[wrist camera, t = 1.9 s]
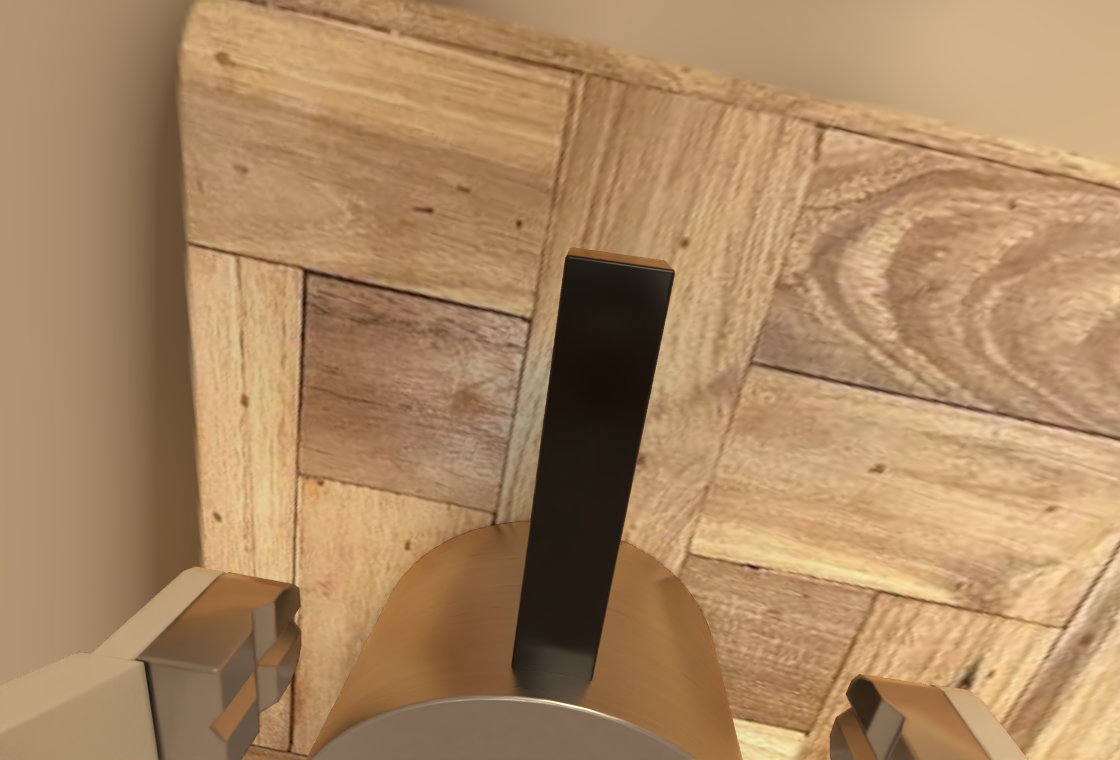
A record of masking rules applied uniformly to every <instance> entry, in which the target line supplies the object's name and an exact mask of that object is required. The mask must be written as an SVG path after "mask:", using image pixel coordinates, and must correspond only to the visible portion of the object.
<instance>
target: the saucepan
mask: <svg viewBox="0 0 1120 760" xmlns="http://www.w3.org/2000/svg"><path fill="white" fill-rule="evenodd" d="M674 276H675V271H674V270H673V269H672V268H671V267H670V265H669V264H668V263H667V262H666V261H664V260H657V259H650V258H643V257H636V256H629V255H622V254H615V253H608V252H601V251H594V250H587V249H580V248H570V250H569V251H568V253H567V255H566V257H565V263H564V271H563V279H562V286H561V294H560V301H559V309H558V316H557V324H556V331H555V339H554V346H553V354H552V361H551V369H550V376H549V384H548V391H547V399H546V406H545V414H544V421H543V429H542V436H541V444H540V452H539V459H538V467H537V474H536V482H535V489H534V497H533V504H532V512H531V519H530V522H514V523H506V524H499V525H493V526H489V527H485V528H481V529H477V530H473V531H471V532H468V533H466V534H463V535H460V536H458V537H455V538H453V539H451V540H449V541H447V542H446V543H444V544H442V545H440V546H438V547H437V548H435V549H433V550H432V551H430V552H429V553H428V554H426V555H425V556H424V557H422V558H421V559H420V560H419V561H417V562H416V563H415V564H414V565H413V566H412V567H411V568H410V569H409V570H408V571H407V572H406V573H405V574H404V576H403V577H402V578H401V580H400V581H399V583H398V584H397V586H396V587H395V588H394V590H393V592H392V593H391V595H390V597H389V599H388V601H387V603H386V605H385V607H384V609H383V611H382V613H381V615H380V617H379V619H378V621H377V623H376V625H375V627H374V628H373V630H372V632H371V634H370V636H369V638H368V640H367V642H366V644H365V646H364V648H363V650H362V652H361V654H360V656H359V658H358V660H357V662H356V663H355V665H354V667H353V669H352V671H351V673H350V675H349V677H348V679H347V681H346V683H345V685H344V687H343V689H342V691H341V693H340V695H339V697H338V698H337V700H336V702H335V704H334V706H333V708H332V710H331V712H330V714H329V716H328V718H327V720H326V722H325V724H324V726H323V728H322V730H321V732H320V733H319V735H318V737H317V739H316V741H315V743H314V745H313V747H312V749H311V751H310V753H309V755H308V757H307V759H306V760H743V759H742V755H741V751H740V747H739V743H738V739H737V735H736V731H735V727H734V723H733V719H732V715H731V711H730V707H729V703H728V699H727V695H726V691H725V688H724V684H723V680H722V676H721V672H720V668H719V664H718V660H717V656H716V652H715V648H714V644H713V640H712V637H711V633H710V630H709V627H708V624H707V621H706V619H705V617H704V615H703V613H702V611H701V609H700V607H699V605H698V604H697V603H696V601H695V600H694V598H693V597H692V595H691V594H690V593H689V591H688V590H687V588H686V587H685V586H684V585H683V584H682V583H681V582H680V581H679V580H678V579H677V578H676V577H675V576H674V575H673V574H672V573H671V572H670V571H669V570H668V569H666V568H665V567H664V566H663V565H661V564H660V563H659V562H658V561H657V560H655V559H654V558H652V557H651V556H649V555H648V554H646V553H644V552H643V551H641V550H640V549H638V548H636V547H635V546H633V545H630V544H628V543H626V542H624V541H622V540H621V537H622V532H623V527H624V522H625V517H626V513H627V508H628V503H629V498H630V493H631V488H632V483H633V478H634V473H635V468H636V463H637V458H638V453H639V448H640V444H641V439H642V434H643V429H644V424H645V419H646V414H647V409H648V404H649V399H650V394H651V389H652V384H653V380H654V375H655V370H656V365H657V360H658V355H659V350H660V345H661V340H662V335H663V330H664V325H665V320H666V316H667V311H668V306H669V301H670V296H671V291H672V286H673V281H674Z"/></svg>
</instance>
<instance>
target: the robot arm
mask: <svg viewBox="0 0 1120 760" xmlns="http://www.w3.org/2000/svg"><path fill="white" fill-rule="evenodd" d="M300 607H301V605H300V592H299V588H298V587H297V586H295V585H293V584H289V583H284V582H279V581H273V580H268V579H263V578H257V577H252V576H246V575H241V574H236V573H230V572H228V573H225V572H220V571H215V570H210V569H205V568H200V567H193V568H190V569H188V570H185V571H183V572H182V573H180V574H179V575H178V576H177V577H176V578H175V579H174V580H172V581H171V582H170V583H169V584H168V585H167V586H166V587H165V588H164V589H162V590H161V591H160V592H159V593H158V594H157V595H156V596H154V597H153V599H151V600H150V601H149V602H148V603H147V604H145V605H144V606H143V607H142V608H141V609H140V610H139V611H138V612H137V613H135V614H134V615H133V616H132V617H131V618H130V619H129V620H128V621H126V622H125V623H124V624H123V625H122V626H121V627H120V628H119V629H117V630H116V631H115V632H114V633H113V634H112V635H111V636H110V637H108V638H107V639H106V640H105V641H104V642H103V643H102V644H101V645H100V646H98V647H97V648H96V649H95V650H94V651H93V652H92V653H85V652H77V653H75V654H72V655H70V656H68V657H65V658H63V659H61V660H58V661H56V662H54V663H51V664H49V665H47V666H44V667H42V668H40V669H37V670H35V671H32V672H30V673H28V674H25V675H23V676H21V677H18V678H16V679H14V680H11V681H9V682H7V683H4V684H2V685H0V760H241V759H242V758H243V756H244V755H245V753H246V751H247V750H248V748H249V747H250V745H251V744H252V742H253V741H254V739H255V737H256V736H257V734H258V733H259V713H261V712H262V711H264V710H266V709H267V708H269V707H270V706H272V705H273V704H275V703H277V702H278V701H279V700H280V698H281V696H282V695H283V693H284V691H285V690H286V688H287V687H288V685H289V683H290V681H291V679H292V676H293V674H294V671H295V668H296V666H297V663H298V661H299V655H300V650H301V630H300V628H299V627H298V626H297V625H296V623H295V622H294V621H293V619H292V618H293V616H294V615H295V614H296V612H297V611H298V609H299V608H300ZM846 696H847V698H848V700H849V702H850V704H851V708H849V709H848V710H846V711H845V712H843V713H842V714H840V715H839V716H837V717H836V719H835V722H834V725H833V728H832V731H831V733H830V759H831V760H1028V759H1027V758H1026V757H1025V755H1024V754H1023V753H1022V752H1021V750H1020V749H1019V748H1018V746H1017V745H1016V744H1015V742H1014V741H1013V740H1012V739H1011V737H1010V736H1009V735H1008V733H1007V732H1006V731H1005V729H1004V728H1003V727H1002V726H1001V724H1000V723H999V722H998V720H997V719H996V718H995V716H994V715H993V714H992V713H991V711H990V710H989V709H988V707H987V706H986V705H985V703H984V702H983V701H982V700H981V699H980V698H979V697H978V696H976V695H975V694H974V693H972V692H971V691H969V690H965V689H958V688H951V687H944V686H937V685H926V684H922V683H915V682H908V681H902V680H895V679H888V678H882V677H875V676H868V675H862V674H859V675H858V676H856V677H855V678H854V679H853V680H851V683H850V685H849V687H848V690H847V692H846Z"/></svg>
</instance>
